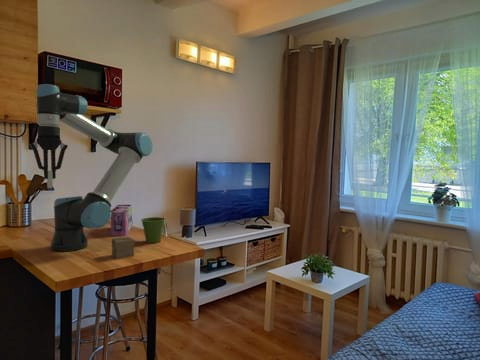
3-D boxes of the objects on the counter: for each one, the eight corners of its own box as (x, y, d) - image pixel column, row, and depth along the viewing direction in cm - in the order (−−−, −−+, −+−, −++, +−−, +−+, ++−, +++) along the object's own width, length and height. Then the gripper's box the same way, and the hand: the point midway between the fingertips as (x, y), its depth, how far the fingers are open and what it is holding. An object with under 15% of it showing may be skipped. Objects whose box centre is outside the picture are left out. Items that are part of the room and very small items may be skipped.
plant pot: (159, 237, 180) (159, 216, 179) (169, 242, 170) (169, 219, 169) (137, 240, 172) (137, 218, 172) (146, 245, 163) (146, 222, 162)
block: (128, 236, 151) (128, 252, 151) (111, 238, 147) (112, 255, 147) (133, 240, 145) (133, 256, 146) (116, 242, 141) (117, 259, 142)
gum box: (125, 236, 182) (125, 210, 181) (109, 236, 181) (109, 210, 180) (131, 227, 206) (131, 204, 205) (117, 227, 204) (117, 204, 203)
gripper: (30, 124, 126) (31, 188, 127) (69, 126, 134) (70, 187, 135) (28, 125, 132) (29, 187, 133) (65, 127, 140) (66, 186, 141)
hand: (50, 187), depth 134 cm, fingers closed
